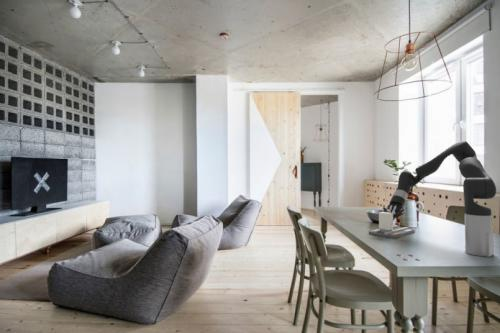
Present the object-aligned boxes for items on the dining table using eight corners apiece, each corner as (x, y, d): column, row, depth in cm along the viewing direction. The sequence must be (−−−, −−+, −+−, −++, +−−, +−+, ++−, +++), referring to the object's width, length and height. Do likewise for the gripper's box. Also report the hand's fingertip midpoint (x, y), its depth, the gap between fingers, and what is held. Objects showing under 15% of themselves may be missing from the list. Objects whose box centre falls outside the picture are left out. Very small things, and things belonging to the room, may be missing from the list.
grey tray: (414, 232, 166) (414, 228, 166) (392, 238, 152) (392, 233, 152) (390, 228, 178) (390, 224, 178) (368, 233, 164) (368, 229, 164)
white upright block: (393, 232, 160) (393, 212, 160) (388, 233, 158) (388, 213, 158) (383, 230, 165) (383, 211, 165) (378, 231, 162) (378, 212, 163)
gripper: (412, 204, 166) (402, 228, 159) (390, 202, 177) (379, 224, 170) (408, 195, 163) (397, 219, 156) (385, 194, 174) (374, 216, 167)
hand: (388, 222), depth 163 cm, fingers closed
